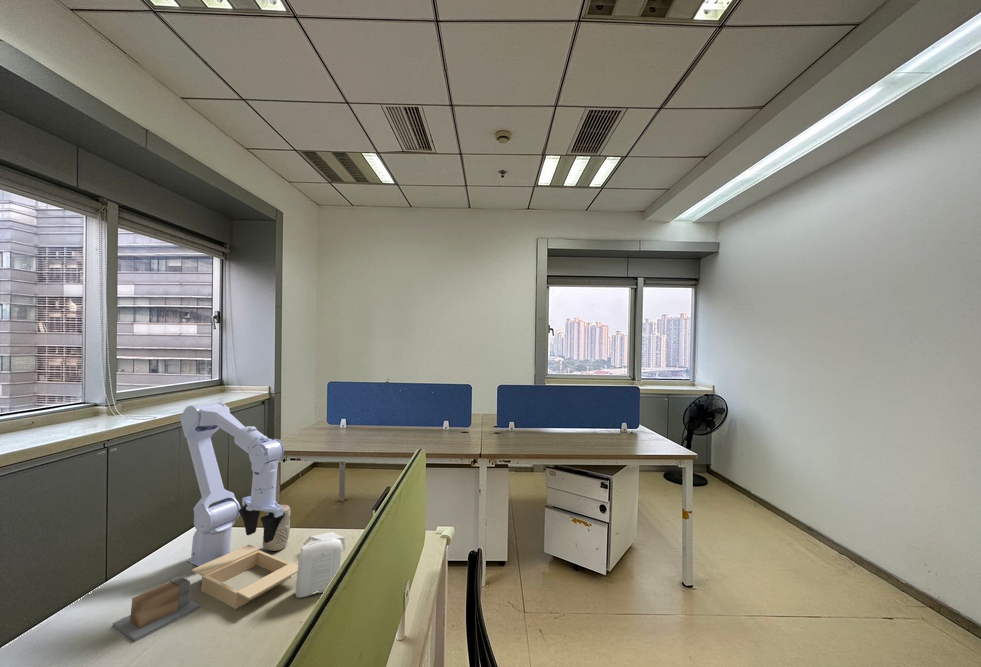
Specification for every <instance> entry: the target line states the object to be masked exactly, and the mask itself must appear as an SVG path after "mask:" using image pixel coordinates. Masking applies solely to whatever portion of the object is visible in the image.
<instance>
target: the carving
mask: <svg viewBox="0 0 981 667" xmlns="http://www.w3.org/2000/svg"><path fill="white" fill-rule="evenodd" d="M279 505H280V506H281V507H283V508H284V509H283V512H284V513H285V516H284V517H283V519H282V520H281V522H280V524H279V526H278V528H277V530H276V533H275V536H274V539H273V540H272V541H270V542H268V543H265V542H264V533H263V535H262V547H263V549H264V550H266V551H270V552H271V551H281V550H282V549H284V548H286V546H287V544H288V541H289V536H290V535H289V534H290V529H291V525H290V524H291V507H290V506H289V505H288V504H279ZM266 515H268V513H267V512H266V514H265V516H266Z"/></svg>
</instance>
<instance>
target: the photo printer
mask: <svg viewBox="0 0 981 667" xmlns="http://www.w3.org/2000/svg"><path fill="white" fill-rule="evenodd" d="M342 550H343V545H342V541H341V540H339V539H322V540H318V541H314V540H313V541H311V542H308V543H306V545H302V546H301V548H300V552H299V555H298V563H297V564H298V572H297V573H296V583H295V584H296V585H295V596H296V598H306V597H310V596H311V595H310V594H312V593H314V592H316V591H319V593H318V594H321V593H325V592H324V590H325V589H326V588H327V586H328V584H329V583H330V582H331V580H332V578H333V577H334V575H335V574H336V572H337V570H338V569H339V568H340V569H341V562H342V555H341V553H342V552H343V551H342ZM342 554H343V553H342ZM309 595H310V596H309Z"/></svg>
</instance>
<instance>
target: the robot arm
mask: <svg viewBox="0 0 981 667" xmlns="http://www.w3.org/2000/svg"><path fill="white" fill-rule="evenodd" d="M179 419H180V424H181V427H182V431H183V435H184V438H186V442H187V445H188V450H189V452H190V457H191V460H192V464H193V470H194V471H195V476H196V480H197V485H198V488H199V491H200V495H201V496H200V497H201V498H200V499H199V501H198V502H197V503H196V504H195V506H194V507H193V509H192V510H193V526H194V528H195V530H196V531H195V532H194V534H193V536H192V544H191V554H190V555H191V556H190V557H188V558H187V562H188V563H191V564H192V565H195V566H196V567H199V566H201V565H203V564H205V563H208V562H210V561H212V560H215V559H217V558H219V557H222V556H224V555H226V554H229V553H231V551H230V550H231V542H232V541H231V540H232V530H233V526H234V525H235V524H236V523H235V521H236V520H237V519H238V518H239V517H241V519H242V521H243V525H244V529H245V533H246V534H245V535H246V536H251V535H252V534H255V533H256V531H257V528H258V521H259V517H260V514H261V512H264V513H266V514H267V513H268V515H266V514H265V515H264V516H261V517H260V522H261V523H262V527H263V534H264V542H265V543H268V542H270V541H272V540H273V539H274V536H275V533H276V530H277V528H278V526H279V524H280V522H281V520H282V519H283V517H284V516H285V513H284V512H283V509H284V508H283V507H281V506H280V505H281V504H279V503H278V502H277V501H276V492H277V491H276V490H277V489H276V488H277V478H278V467H279V465H278V464H279V460H281V459H282V457H283V456H284V454H285V449H284V448H285V447H284V445H283V443H282V442H281V441H280V439H279V438H278V439H277V438H273V439H272V438H269V437H268V436H267V435H264V434H263V433H262V432H260V431H259V430H258V429H257V427H256V426H251V425H248V426H245V425H244V424H242V422H240V421H239V420H238V419H237V418H236V417H235V416H234V415H232V413H231V411H230V407H229V406H227V405H226V404H225V403H224V402H215V403H209V404H200V405H199V404H197V405H188V406H186V407H185V408H184V410H183V411H182V414H181V416H180V418H179ZM219 429H221V430H223V431H224V432H226V433H227V434H229V435H230V436H232V437H234V439H233V441H234V444H235V445H237V446H238V447H239V448H240V449H242V450H243V451H245V453H246V454H248V458H249V461H250V463H251V468H250V469H251V471H252V479H251V480H252V482H251V491H250V492H251V494H250V496H249V495H248V496H245V497H242V500H241V505H240V502H239V500H237V498H236V496H235V493H234V492H232V491H229V490H227V489H225V487H224V484H223V480H222V476H221V472H220V468H219V465H218V462H217V461H218V460H217V457H216V453H215V449H214V445H213V442H212V439H211V438H212V437H213V434H215V433H216V432H217V431H218V430H219ZM241 506H244V507H242V508H241Z"/></svg>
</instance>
